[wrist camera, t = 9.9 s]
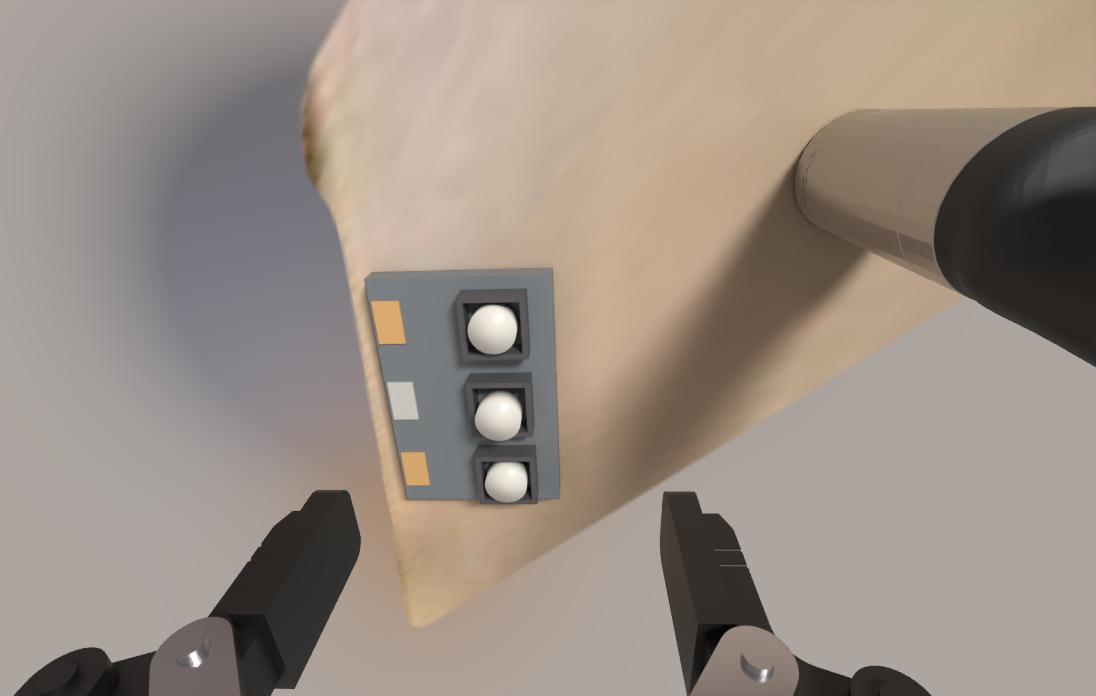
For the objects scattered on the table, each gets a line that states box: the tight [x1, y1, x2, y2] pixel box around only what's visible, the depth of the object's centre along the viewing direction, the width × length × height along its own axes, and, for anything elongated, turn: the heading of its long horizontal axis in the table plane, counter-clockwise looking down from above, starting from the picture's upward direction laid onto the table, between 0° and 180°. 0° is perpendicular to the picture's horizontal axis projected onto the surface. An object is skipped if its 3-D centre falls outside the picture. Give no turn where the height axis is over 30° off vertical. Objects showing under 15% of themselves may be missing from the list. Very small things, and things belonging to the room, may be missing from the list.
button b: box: [475, 391, 523, 441], centre depth 45 cm, size 4×4×2 cm
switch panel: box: [364, 268, 560, 504], centre depth 48 cm, size 16×24×4 cm, turn 2°
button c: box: [485, 462, 528, 502], centre depth 49 cm, size 4×4×2 cm
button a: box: [468, 303, 518, 354], centre depth 43 cm, size 4×4×2 cm
